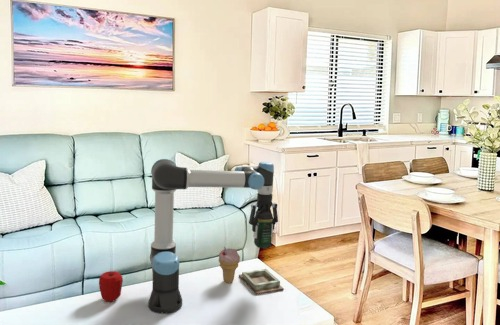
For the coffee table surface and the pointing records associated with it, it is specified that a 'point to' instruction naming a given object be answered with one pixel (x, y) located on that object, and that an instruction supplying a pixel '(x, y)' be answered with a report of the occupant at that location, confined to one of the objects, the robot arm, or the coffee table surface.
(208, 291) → the coffee table surface
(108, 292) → the apple
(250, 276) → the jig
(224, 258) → the ice cream cone
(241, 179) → the robot arm
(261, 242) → the coffee jar
